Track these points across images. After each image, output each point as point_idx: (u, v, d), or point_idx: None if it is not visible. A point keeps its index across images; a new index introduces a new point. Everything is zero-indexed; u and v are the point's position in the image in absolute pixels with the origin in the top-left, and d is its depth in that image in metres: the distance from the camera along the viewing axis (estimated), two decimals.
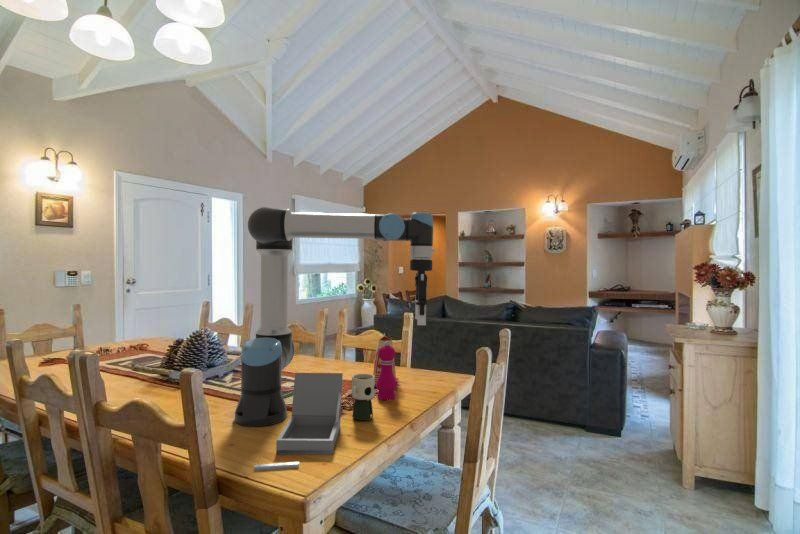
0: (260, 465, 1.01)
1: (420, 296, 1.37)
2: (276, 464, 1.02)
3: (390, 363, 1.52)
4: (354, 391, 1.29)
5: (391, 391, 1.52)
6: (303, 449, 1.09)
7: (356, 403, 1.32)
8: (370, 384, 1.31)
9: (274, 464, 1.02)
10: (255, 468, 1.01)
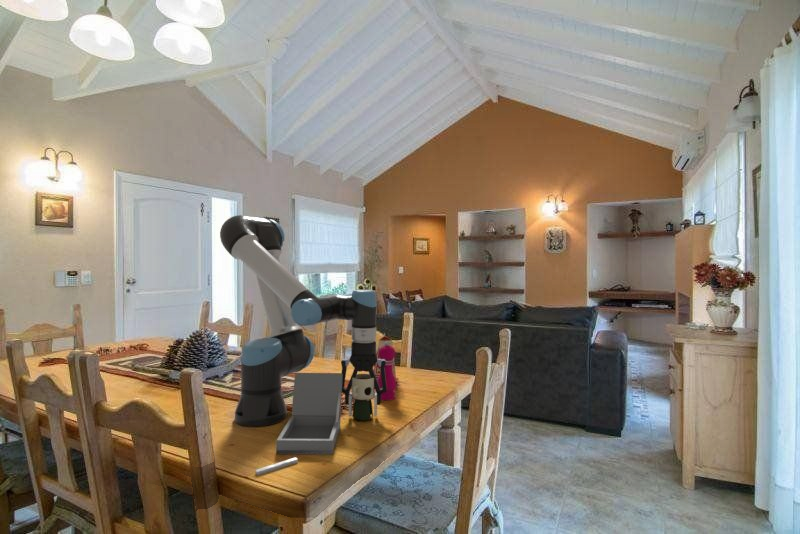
0: (261, 469, 1.00)
1: None
2: (276, 464, 1.02)
3: (390, 363, 1.52)
4: (354, 391, 1.29)
5: (391, 391, 1.52)
6: (303, 449, 1.09)
7: (356, 403, 1.32)
8: (370, 384, 1.31)
9: (274, 465, 1.02)
10: (258, 473, 0.98)
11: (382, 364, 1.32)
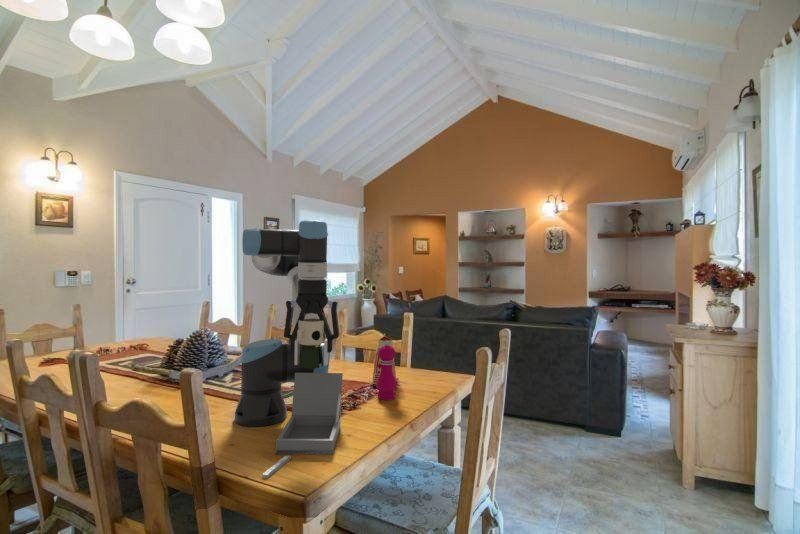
0: (267, 471, 0.98)
1: None
2: (276, 464, 1.02)
3: (390, 363, 1.52)
4: (299, 334, 1.12)
5: (391, 391, 1.52)
6: (303, 449, 1.09)
7: (303, 350, 1.15)
8: (319, 327, 1.14)
9: (275, 465, 1.02)
10: (267, 475, 0.97)
11: (333, 305, 1.16)
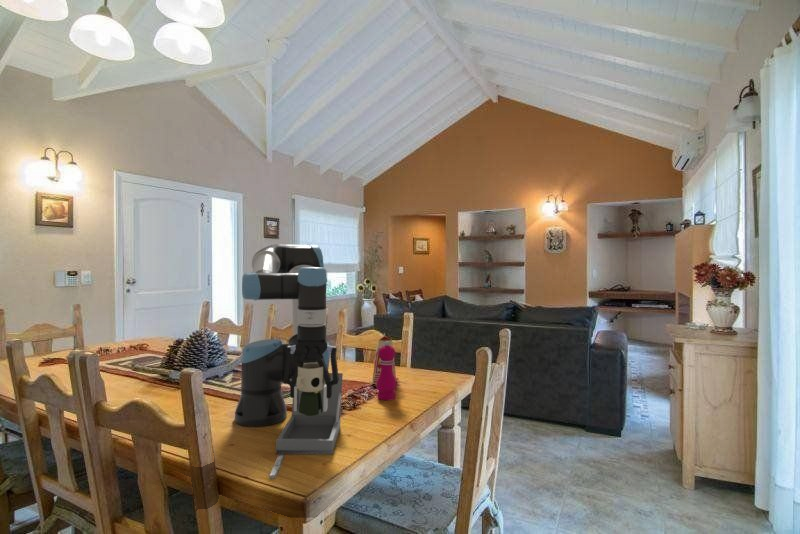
0: (273, 472, 0.98)
1: None
2: (277, 464, 1.02)
3: (390, 363, 1.52)
4: (299, 382, 1.12)
5: (391, 391, 1.52)
6: (303, 449, 1.09)
7: (302, 396, 1.15)
8: (318, 374, 1.15)
9: (276, 465, 1.01)
10: (275, 475, 0.97)
11: (332, 351, 1.16)
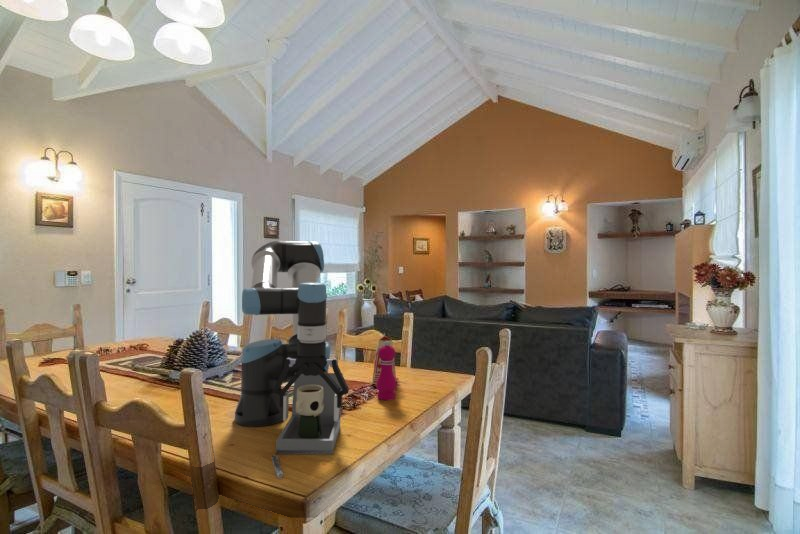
0: (279, 471, 0.99)
1: None
2: (277, 464, 1.02)
3: (390, 363, 1.52)
4: (298, 406, 1.12)
5: (391, 391, 1.52)
6: (303, 449, 1.09)
7: (301, 419, 1.16)
8: (317, 398, 1.15)
9: (277, 465, 1.01)
10: (282, 474, 0.98)
11: (333, 364, 1.16)
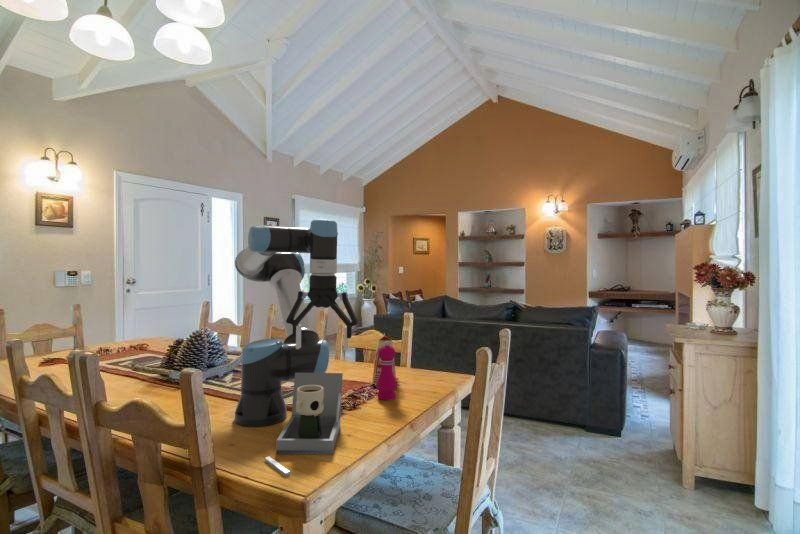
0: (284, 470, 0.99)
1: None
2: (277, 464, 1.02)
3: (390, 363, 1.52)
4: (298, 406, 1.13)
5: (391, 391, 1.52)
6: (303, 449, 1.09)
7: (301, 419, 1.16)
8: (317, 397, 1.15)
9: (278, 465, 1.02)
10: None
11: (343, 296, 1.23)
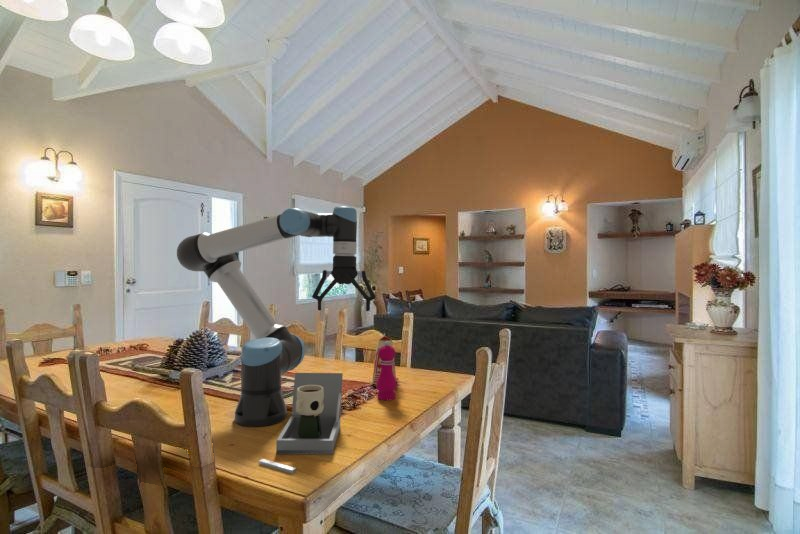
0: (289, 467, 1.00)
1: None
2: (277, 464, 1.02)
3: (390, 363, 1.52)
4: (298, 406, 1.13)
5: (391, 391, 1.52)
6: (303, 449, 1.09)
7: (301, 419, 1.16)
8: (317, 397, 1.15)
9: (278, 465, 1.02)
10: None
11: (363, 274, 1.40)
